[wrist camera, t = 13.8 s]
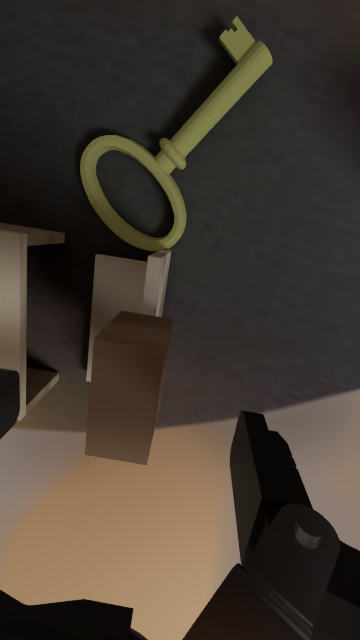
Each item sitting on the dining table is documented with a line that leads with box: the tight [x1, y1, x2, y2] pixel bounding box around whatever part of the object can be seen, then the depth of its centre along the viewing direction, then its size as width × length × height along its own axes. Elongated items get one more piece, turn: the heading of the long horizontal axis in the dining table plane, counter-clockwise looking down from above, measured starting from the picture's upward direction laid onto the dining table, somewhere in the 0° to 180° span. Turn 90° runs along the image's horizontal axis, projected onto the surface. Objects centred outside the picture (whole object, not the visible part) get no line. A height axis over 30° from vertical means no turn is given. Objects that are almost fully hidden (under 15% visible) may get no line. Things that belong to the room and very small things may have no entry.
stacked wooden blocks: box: [85, 250, 173, 465], centre depth 16 cm, size 10×6×9 cm, turn 171°
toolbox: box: [0, 223, 65, 421], centre depth 18 cm, size 10×5×5 cm, turn 171°
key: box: [80, 17, 272, 252], centre depth 17 cm, size 7×12×2 cm, turn 151°
